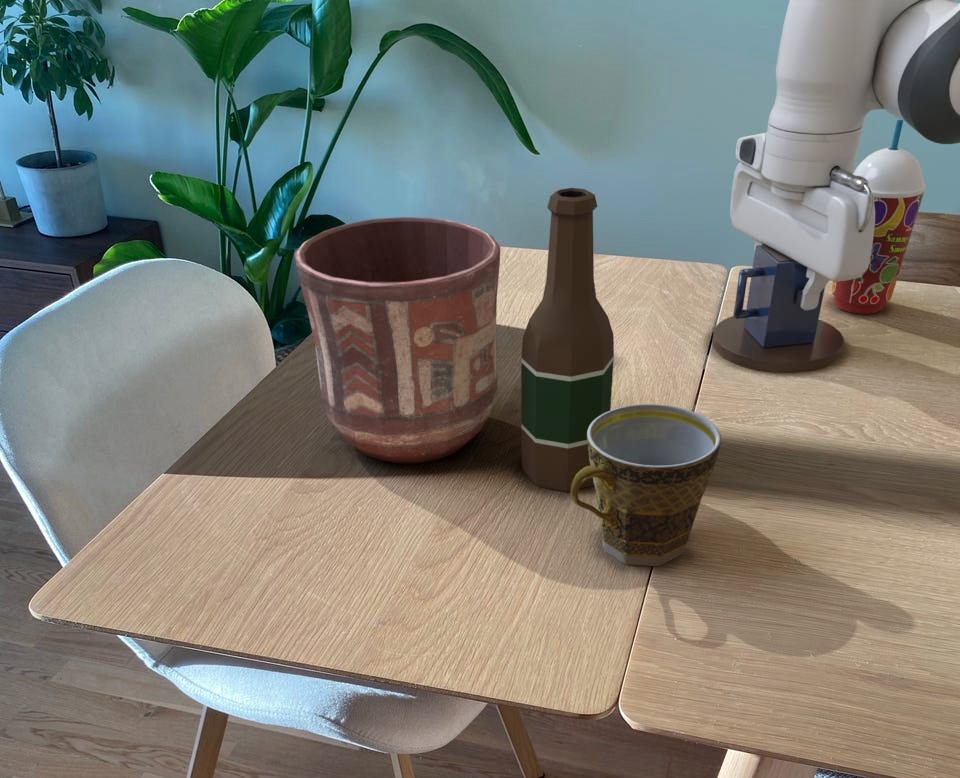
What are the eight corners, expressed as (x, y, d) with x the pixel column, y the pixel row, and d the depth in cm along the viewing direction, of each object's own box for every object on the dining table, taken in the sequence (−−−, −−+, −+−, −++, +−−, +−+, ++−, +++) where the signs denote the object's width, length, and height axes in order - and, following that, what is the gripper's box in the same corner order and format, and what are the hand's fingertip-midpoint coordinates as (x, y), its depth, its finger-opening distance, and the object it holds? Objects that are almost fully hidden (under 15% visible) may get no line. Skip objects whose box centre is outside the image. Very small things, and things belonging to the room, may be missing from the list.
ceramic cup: (644, 498, 85) (654, 391, 79) (731, 548, 79) (749, 437, 72) (528, 552, 79) (529, 441, 73) (612, 611, 73) (620, 496, 67)
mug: (792, 322, 110) (807, 240, 104) (814, 342, 106) (831, 258, 100) (720, 329, 109) (731, 246, 103) (739, 350, 105) (752, 265, 99)
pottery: (309, 484, 88) (276, 287, 77) (332, 397, 102) (308, 217, 90) (503, 480, 88) (501, 281, 76) (502, 393, 101) (499, 212, 90)
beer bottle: (560, 442, 93) (567, 172, 78) (624, 469, 89) (645, 190, 73) (503, 472, 89) (499, 194, 74) (567, 503, 85) (578, 215, 69)
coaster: (859, 336, 110) (861, 326, 109) (815, 383, 101) (817, 372, 100) (742, 312, 116) (743, 302, 115) (691, 354, 107) (692, 344, 107)
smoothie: (886, 323, 112) (933, 133, 99) (814, 311, 116) (850, 125, 103) (902, 299, 118) (948, 115, 105) (832, 288, 121) (869, 108, 108)
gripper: (905, 178, 89) (870, 325, 98) (779, 130, 104) (759, 261, 113) (846, 187, 88) (817, 335, 97) (727, 137, 103) (711, 269, 111)
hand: (785, 295), depth 105 cm, fingers closed on mug, 6 cm apart
